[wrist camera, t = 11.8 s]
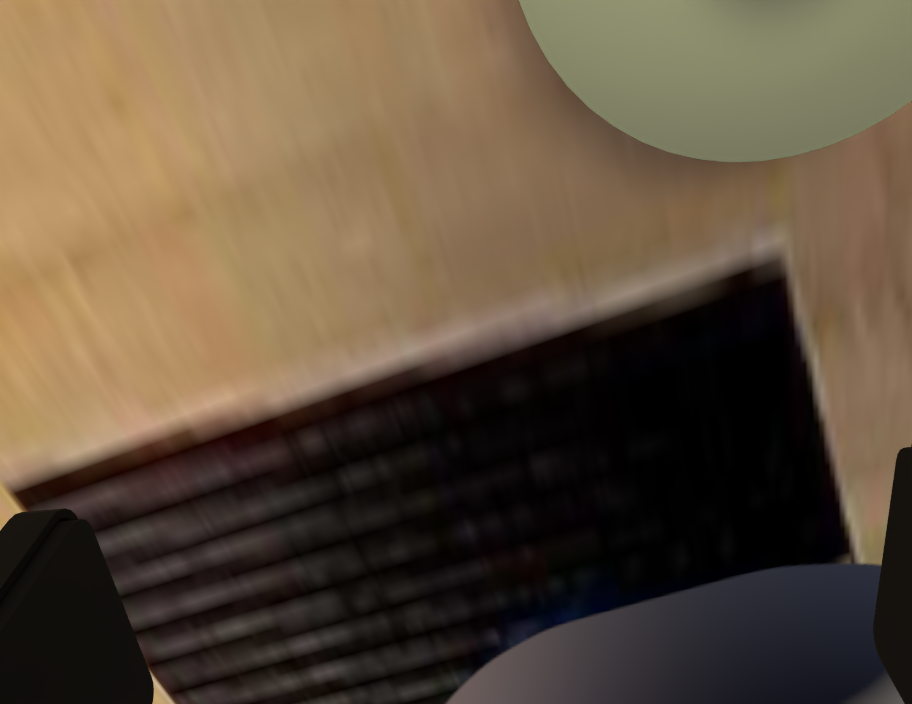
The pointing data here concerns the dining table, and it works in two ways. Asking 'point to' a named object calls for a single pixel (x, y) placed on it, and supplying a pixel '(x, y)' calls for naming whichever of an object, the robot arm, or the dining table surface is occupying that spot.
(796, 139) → the lid
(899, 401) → the dining table surface
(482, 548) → the dining table surface
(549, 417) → the dining table surface
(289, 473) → the dining table surface
